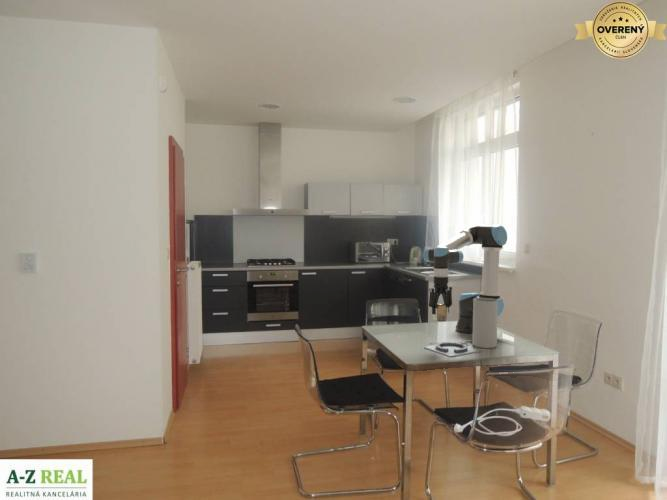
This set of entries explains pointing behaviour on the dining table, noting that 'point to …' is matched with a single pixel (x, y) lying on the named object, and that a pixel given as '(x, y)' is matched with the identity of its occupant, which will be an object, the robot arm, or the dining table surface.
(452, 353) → the ring plate
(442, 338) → the dining table surface
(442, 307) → the piston
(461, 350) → the piston ring
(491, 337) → the cylinder vase
